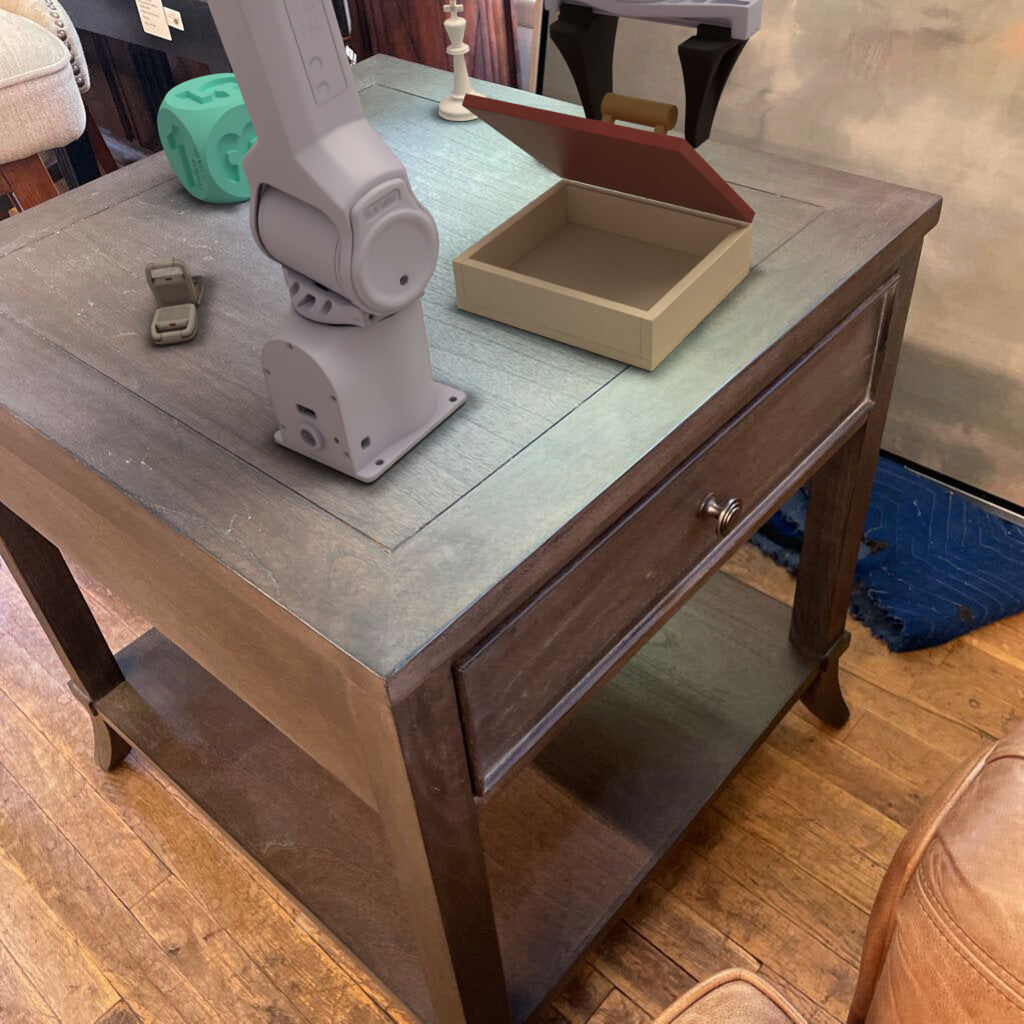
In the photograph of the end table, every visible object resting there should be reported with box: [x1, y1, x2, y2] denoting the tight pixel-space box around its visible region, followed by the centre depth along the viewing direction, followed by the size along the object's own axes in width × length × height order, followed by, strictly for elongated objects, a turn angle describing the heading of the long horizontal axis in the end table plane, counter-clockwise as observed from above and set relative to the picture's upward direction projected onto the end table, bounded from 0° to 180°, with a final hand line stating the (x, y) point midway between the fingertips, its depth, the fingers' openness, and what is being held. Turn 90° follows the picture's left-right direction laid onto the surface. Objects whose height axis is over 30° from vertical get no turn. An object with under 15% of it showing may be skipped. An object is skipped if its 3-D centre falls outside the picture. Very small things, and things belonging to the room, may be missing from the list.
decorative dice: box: [156, 72, 258, 204], centre depth 90 cm, size 8×8×8 cm
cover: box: [462, 92, 756, 224], centre depth 70 cm, size 14×16×5 cm
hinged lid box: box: [451, 178, 754, 372], centre depth 74 cm, size 14×16×4 cm
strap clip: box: [144, 257, 205, 345], centre depth 76 cm, size 8×3×4 cm, turn 7°
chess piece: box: [438, 0, 488, 122], centre depth 97 cm, size 5×5×10 cm
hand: (647, 131), depth 73 cm, fingers open, 7 cm apart
